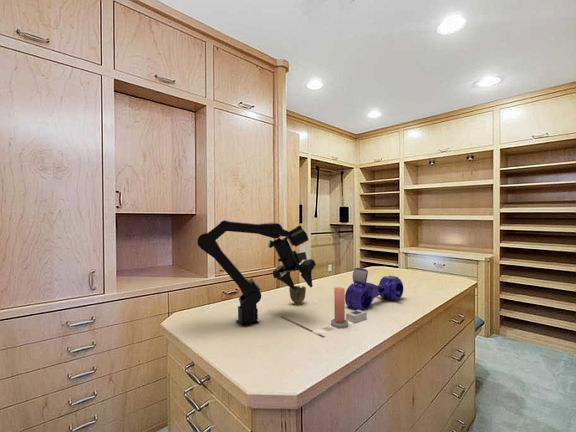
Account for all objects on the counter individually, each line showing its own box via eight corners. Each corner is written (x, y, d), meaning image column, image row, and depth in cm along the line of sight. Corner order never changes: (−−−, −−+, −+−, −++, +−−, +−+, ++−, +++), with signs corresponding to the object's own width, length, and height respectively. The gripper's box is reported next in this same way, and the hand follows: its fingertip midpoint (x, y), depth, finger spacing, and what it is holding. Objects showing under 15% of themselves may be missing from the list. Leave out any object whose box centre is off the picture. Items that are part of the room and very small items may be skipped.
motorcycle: (364, 317, 114) (364, 272, 114) (338, 308, 125) (338, 268, 125) (410, 300, 136) (410, 263, 136) (384, 294, 146) (384, 260, 146)
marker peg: (335, 329, 99) (335, 291, 99) (328, 322, 105) (328, 287, 105) (351, 327, 101) (351, 289, 101) (343, 321, 107) (343, 285, 107)
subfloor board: (323, 340, 92) (323, 337, 92) (279, 318, 112) (279, 316, 112) (373, 322, 108) (373, 319, 108) (328, 306, 127) (328, 304, 127)
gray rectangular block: (354, 323, 105) (354, 315, 105) (346, 319, 108) (345, 312, 108) (366, 318, 109) (366, 311, 109) (358, 316, 112) (358, 309, 112)
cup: (286, 306, 127) (286, 288, 127) (293, 301, 133) (293, 284, 133) (301, 308, 123) (301, 290, 123) (308, 304, 130) (308, 286, 130)
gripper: (314, 238, 111) (331, 274, 112) (281, 248, 123) (296, 279, 125) (298, 252, 102) (317, 290, 104) (264, 260, 115) (281, 294, 117)
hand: (302, 288), depth 113 cm, fingers open, 9 cm apart
